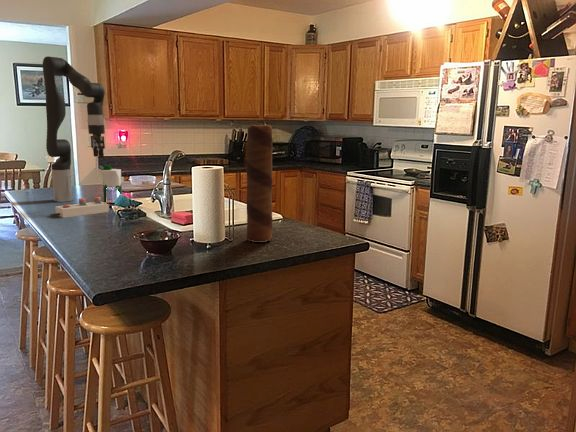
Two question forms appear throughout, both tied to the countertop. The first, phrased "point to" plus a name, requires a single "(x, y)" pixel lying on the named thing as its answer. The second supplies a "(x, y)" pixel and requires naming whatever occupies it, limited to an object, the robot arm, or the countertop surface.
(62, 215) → the button panel
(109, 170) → the milk carton
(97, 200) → the button
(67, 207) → the button
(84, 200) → the button
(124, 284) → the countertop surface
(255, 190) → the wafer roll
